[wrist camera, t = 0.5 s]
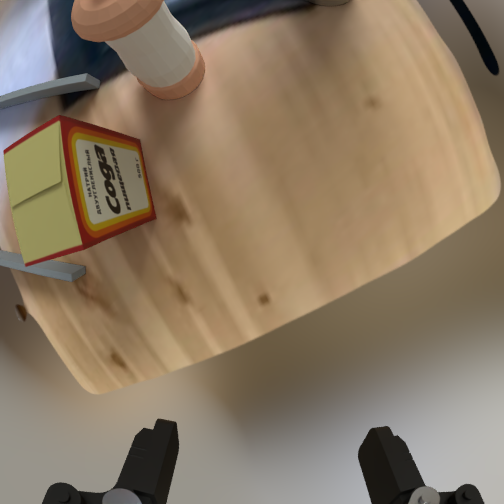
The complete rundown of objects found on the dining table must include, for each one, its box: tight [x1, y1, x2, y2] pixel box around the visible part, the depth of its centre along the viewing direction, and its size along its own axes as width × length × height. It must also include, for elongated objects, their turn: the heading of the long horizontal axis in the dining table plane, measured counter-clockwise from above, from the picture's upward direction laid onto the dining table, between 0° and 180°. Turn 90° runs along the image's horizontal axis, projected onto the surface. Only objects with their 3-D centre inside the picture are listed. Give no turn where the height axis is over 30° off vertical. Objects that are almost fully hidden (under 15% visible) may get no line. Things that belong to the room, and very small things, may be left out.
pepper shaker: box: [71, 0, 205, 100], centre depth 18 cm, size 7×7×19 cm
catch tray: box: [0, 74, 100, 282], centre depth 28 cm, size 25×27×4 cm
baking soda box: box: [4, 115, 156, 267], centre depth 23 cm, size 10×6×16 cm
